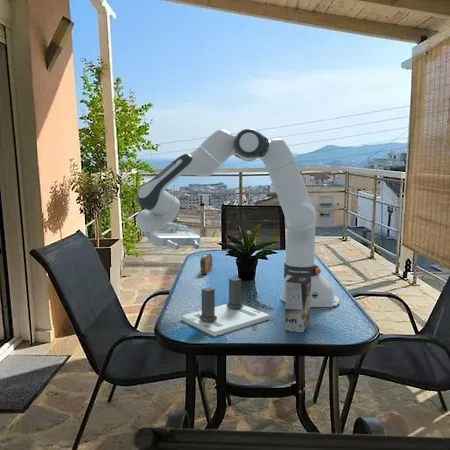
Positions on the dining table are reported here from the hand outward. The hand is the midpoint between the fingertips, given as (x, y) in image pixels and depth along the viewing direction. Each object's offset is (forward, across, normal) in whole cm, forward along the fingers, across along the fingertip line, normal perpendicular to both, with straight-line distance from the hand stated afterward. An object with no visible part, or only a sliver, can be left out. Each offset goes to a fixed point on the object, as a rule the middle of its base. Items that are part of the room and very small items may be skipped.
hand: (187, 247), depth 149 cm
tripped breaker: (+19, -1, +18) cm, 26 cm away
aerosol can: (-19, +61, +22) cm, 67 cm away
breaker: (+16, +14, +17) cm, 27 cm away
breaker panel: (+20, +7, +18) cm, 28 cm away
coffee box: (+40, +19, +12) cm, 46 cm away
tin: (-32, +45, +28) cm, 62 cm away
